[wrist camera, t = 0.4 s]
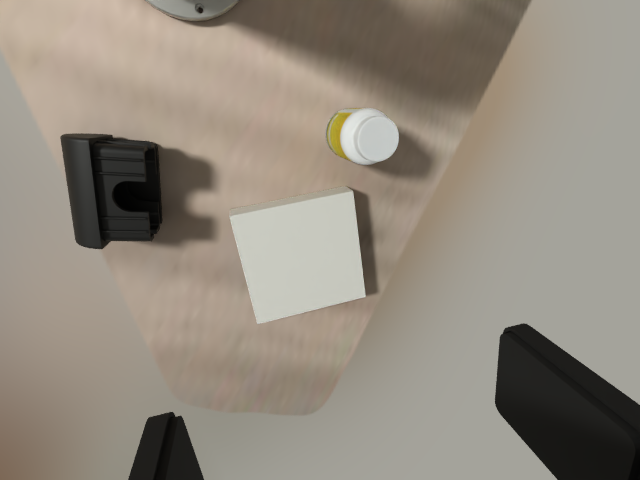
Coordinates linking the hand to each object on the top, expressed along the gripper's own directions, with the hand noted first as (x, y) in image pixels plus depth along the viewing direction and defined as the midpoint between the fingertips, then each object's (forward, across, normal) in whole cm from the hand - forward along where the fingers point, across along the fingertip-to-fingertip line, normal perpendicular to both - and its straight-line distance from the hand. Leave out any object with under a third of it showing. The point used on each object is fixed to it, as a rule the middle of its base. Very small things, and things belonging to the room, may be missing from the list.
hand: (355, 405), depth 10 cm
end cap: (+33, +15, -3) cm, 37 cm away
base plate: (+33, -2, +8) cm, 34 cm away
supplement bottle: (+33, -10, -5) cm, 35 cm away
